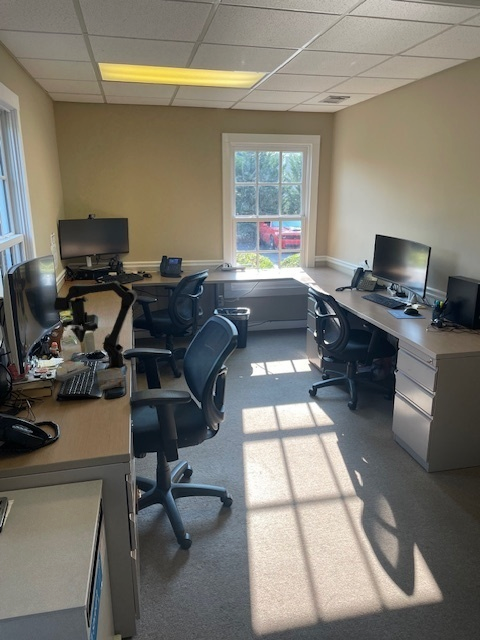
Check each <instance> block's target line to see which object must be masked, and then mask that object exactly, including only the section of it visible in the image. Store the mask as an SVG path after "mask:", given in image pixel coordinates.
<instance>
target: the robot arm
mask: <svg viewBox="0 0 480 640" xmlns="http://www.w3.org/2000/svg"><path fill="white" fill-rule="evenodd" d="M109 291H113V292H114V293H115V294H116V295H117V296H118V297H119V298H121V301H120V309H119V311H118V314H117V317H116V319H115V323H114V325H113V327H112V330H111V332H110V333H108V334H106V336H104V341H103V343H102V349H103V350H104V351H105V353H106V354H107V356H108V365H107V367H108V368H118V369H121V367H123V366H126V363H124V356H123V355H124V354H123V353H122V352H123V351H124V347H123V345H121V344H120V336H121V335H120V334H121V332H122V329H123V327H124V325H125V322H126V319H127V316H128V314H129V311H130V309H131V308H132V307H133V305H134V303H135V302H136V300H137V298H138V293H137V291H136V290H134V289H130V288H129V287H127V286H126V285H123V284H122V283H120V282H119V281H117V280H113V281H110V282H109V281H108V282H101V283H95V284H85V283H76V284H73V285H70V287H69V289H68V293H67V295H66V296H56V297H55V300H54V304H53V308H54V310H55V311H56V312H69V311H70V309H71V313H70V316H71V317H72V319H71V318H70V319H66V320H63V321H62V322H61V327H62V328H68V327H69V326H71V328H70V331H72V332H73V334H74V336H75V337H76V338H77V340H78V342H79V343H80V342H83V339H84V335H85V332H86V331H94V329H95V330H98V328H99V327H98V325H99V323H98V324H97V323H94V321H95V316H90V315H91V314H88V312H87V311H86V310H85V303H86V302H88V301H89V298H87V297H86V295H89V294H95V293H102V292H109ZM88 322H90V323H88Z"/></svg>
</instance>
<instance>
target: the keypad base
mask: <svg viewBox="0 0 480 640" xmlns="http://www.w3.org/2000/svg"><path fill="white" fill-rule="evenodd" d="M88 370H91V366H88V365H84V367H83V368H80V369H75V370H72V372H68V371H67V374H64V375H61V376H58V375H57V376H56V380H55V381H60V382H66V381H68V380H67V379H69V378H71V377H74V376H76V375H78V374H81V373H83V372H86V371H88ZM76 377H77V376H76ZM74 378H75V377H74ZM71 379H72V378H71ZM65 380H66V381H65ZM69 380H70V379H69Z"/></svg>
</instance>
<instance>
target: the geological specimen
mask: <svg viewBox="0 0 480 640" xmlns="http://www.w3.org/2000/svg"><path fill="white" fill-rule="evenodd" d="M96 373H97V381H98V389H99V392H100V391H101V392H102V391H103V390H110V389H112V388H119V387H121V388H126V383H125V376H124V373H123V370H122V369H121V368H111V367H109V368H108V369H107V368H106V369H103V370H102V369H101V370H97V372H96Z"/></svg>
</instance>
